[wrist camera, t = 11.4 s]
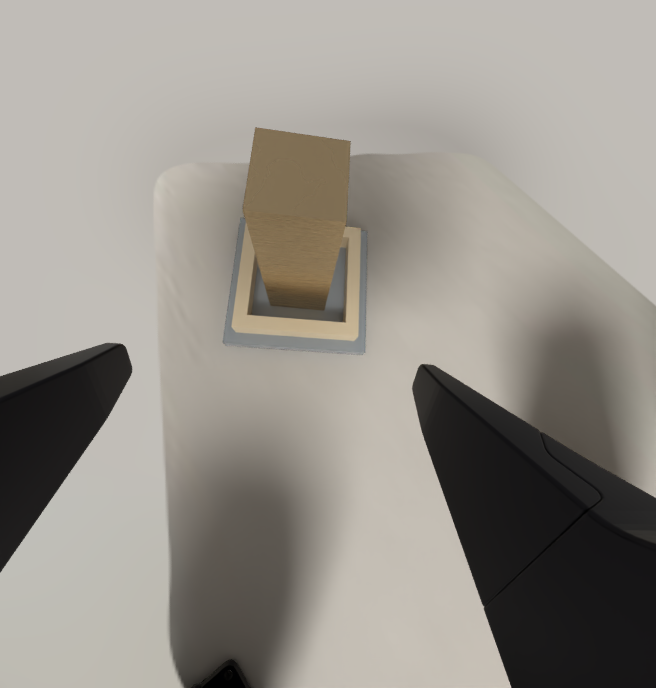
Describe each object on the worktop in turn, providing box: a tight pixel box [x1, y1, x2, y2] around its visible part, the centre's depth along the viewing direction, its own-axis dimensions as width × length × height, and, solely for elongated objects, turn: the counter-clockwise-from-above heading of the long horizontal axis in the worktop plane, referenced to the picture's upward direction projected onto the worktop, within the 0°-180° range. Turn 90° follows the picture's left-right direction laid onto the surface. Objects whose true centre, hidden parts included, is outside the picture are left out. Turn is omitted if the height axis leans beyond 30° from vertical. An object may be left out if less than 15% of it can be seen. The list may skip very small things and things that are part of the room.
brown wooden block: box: [243, 128, 350, 311], centre depth 17 cm, size 4×4×11 cm
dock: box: [223, 218, 367, 355], centre depth 23 cm, size 11×11×2 cm
